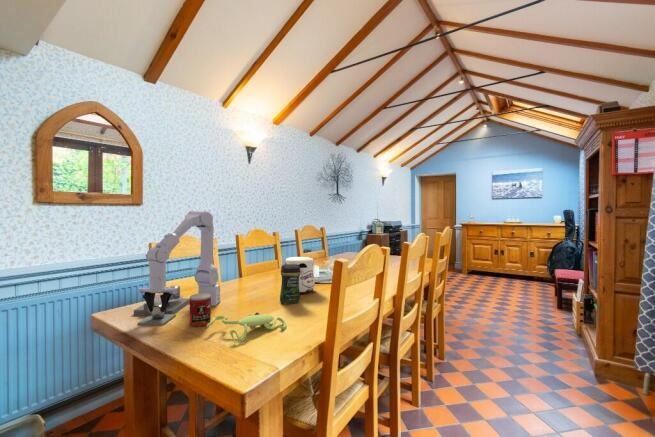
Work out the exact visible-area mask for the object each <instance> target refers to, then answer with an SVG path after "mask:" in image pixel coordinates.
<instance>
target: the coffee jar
mask: <svg viewBox="0 0 655 437" xmlns="http://www.w3.org/2000/svg"><path fill="white" fill-rule="evenodd" d="M300 273H301V272H300V266H299V265H298V264H285V263H284V264H281V266H280V275H281V286H280V294H279V302H280V303H281V304H284V305H291V304H298V303H300V300H301V295H300V294H301V293H299V276H300Z"/></svg>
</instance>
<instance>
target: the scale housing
mask: <svg viewBox="0 0 655 437" xmlns="http://www.w3.org/2000/svg"><path fill="white" fill-rule="evenodd" d="M155 304H162V303H161V302H154V305H155ZM188 305H190V297H189V298H187V297H185V298H183V297H182V299H180V300H178V301H175V302H171V303H168V304H167V308H166V311H165V314H176V313H178V312H179V311H181V310H182V309H184V308H185V307H186V306H188ZM151 314H152V312H149V308H148V305H147V303H146V302H144V303H143V305H140V306H138V307H137V308H135V309H133V316H149V315H151Z"/></svg>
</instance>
